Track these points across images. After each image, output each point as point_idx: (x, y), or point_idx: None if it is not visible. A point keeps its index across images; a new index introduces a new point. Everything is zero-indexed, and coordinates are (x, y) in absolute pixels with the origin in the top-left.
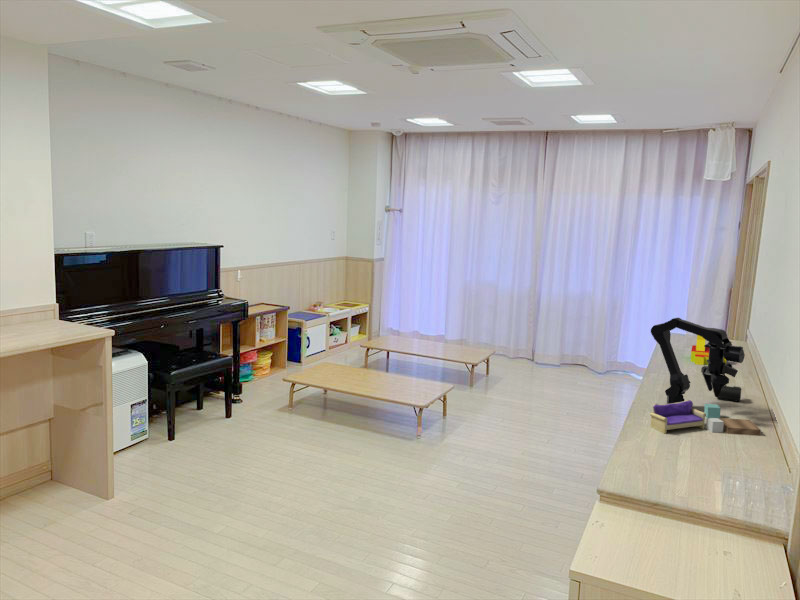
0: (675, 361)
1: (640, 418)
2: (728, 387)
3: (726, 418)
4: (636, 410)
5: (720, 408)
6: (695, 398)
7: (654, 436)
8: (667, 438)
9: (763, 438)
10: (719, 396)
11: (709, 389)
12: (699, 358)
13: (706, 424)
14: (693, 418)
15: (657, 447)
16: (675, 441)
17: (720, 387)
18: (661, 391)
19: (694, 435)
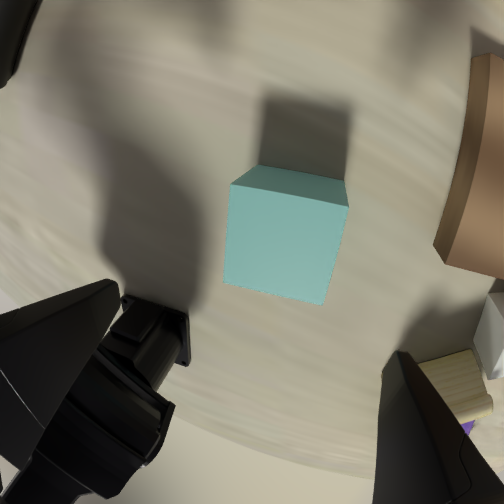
0: None
1: (310, 457)
2: None
3: (465, 214)
4: (226, 438)
5: (347, 206)
6: (18, 171)
7: None
8: (476, 443)
9: None
10: (6, 74)
11: (111, 312)
12: None
13: (480, 355)
14: (466, 424)
15: (497, 455)
16: (498, 433)
17: (476, 487)
18: (6, 263)
19: (500, 393)
